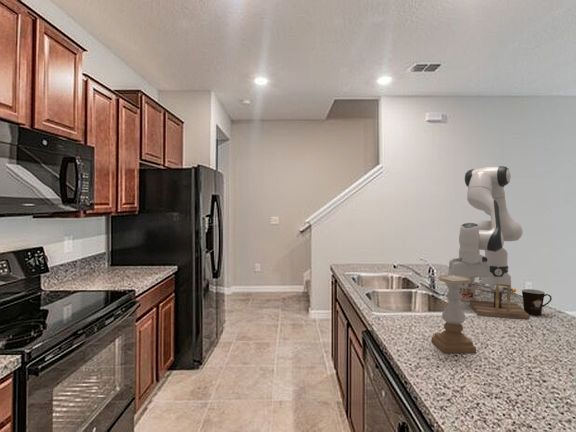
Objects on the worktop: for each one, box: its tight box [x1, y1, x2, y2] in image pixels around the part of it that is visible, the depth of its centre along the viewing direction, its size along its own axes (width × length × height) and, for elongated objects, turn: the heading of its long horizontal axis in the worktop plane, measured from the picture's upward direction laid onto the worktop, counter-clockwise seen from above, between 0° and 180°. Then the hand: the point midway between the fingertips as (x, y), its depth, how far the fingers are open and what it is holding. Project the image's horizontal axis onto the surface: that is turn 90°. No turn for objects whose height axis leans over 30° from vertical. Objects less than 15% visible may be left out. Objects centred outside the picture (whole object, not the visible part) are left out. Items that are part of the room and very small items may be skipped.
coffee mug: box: [521, 288, 552, 316], centre depth 174 cm, size 12×9×10 cm
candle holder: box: [431, 274, 477, 354], centre depth 134 cm, size 11×11×24 cm
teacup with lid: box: [460, 281, 483, 302], centre depth 199 cm, size 12×9×12 cm
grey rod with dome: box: [474, 281, 517, 293], centre depth 180 cm, size 20×6×3 cm, turn 29°
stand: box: [469, 284, 530, 320], centre depth 178 cm, size 20×20×14 cm
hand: (468, 287), depth 185 cm, fingers closed
